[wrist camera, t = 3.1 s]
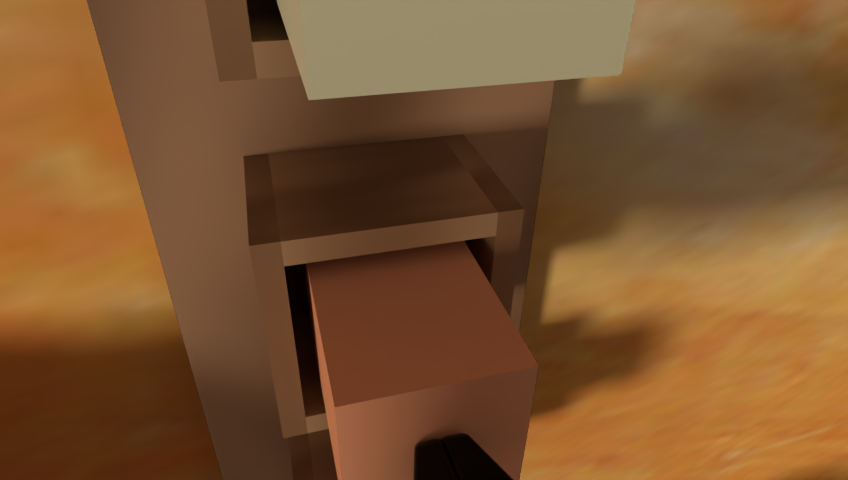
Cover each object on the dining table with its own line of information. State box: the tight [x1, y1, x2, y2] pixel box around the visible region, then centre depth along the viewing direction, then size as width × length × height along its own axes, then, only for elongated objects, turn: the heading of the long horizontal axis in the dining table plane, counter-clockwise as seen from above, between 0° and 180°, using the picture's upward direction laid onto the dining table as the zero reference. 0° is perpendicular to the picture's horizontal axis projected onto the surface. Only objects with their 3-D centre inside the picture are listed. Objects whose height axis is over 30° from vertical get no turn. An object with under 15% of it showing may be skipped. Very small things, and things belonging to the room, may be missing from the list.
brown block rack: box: [87, 0, 555, 480], centre depth 13 cm, size 9×25×5 cm, turn 179°
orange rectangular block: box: [304, 241, 539, 480], centre depth 11 cm, size 3×3×5 cm
